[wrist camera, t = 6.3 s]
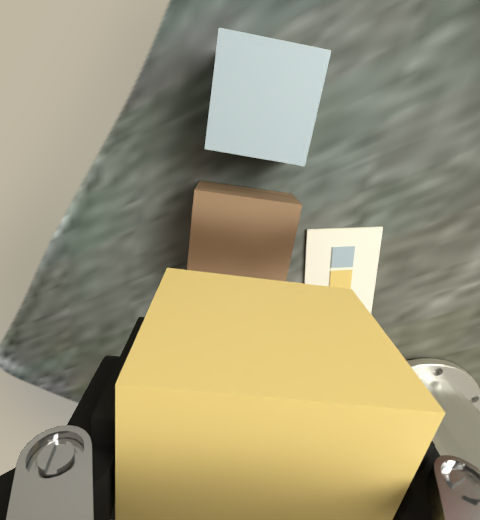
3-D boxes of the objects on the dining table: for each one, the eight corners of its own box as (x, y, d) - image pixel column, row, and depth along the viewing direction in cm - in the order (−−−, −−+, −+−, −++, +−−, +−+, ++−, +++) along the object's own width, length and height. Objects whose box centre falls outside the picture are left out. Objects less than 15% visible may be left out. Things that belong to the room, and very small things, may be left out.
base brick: (274, 276, 27) (281, 299, 24) (191, 266, 27) (184, 288, 23) (291, 193, 25) (302, 204, 21) (199, 180, 24) (194, 189, 21)
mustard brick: (351, 289, 11) (445, 413, 6) (311, 423, 13) (357, 590, 8) (166, 267, 10) (115, 384, 6) (157, 411, 12) (115, 580, 8)
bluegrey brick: (290, 159, 24) (304, 166, 19) (209, 145, 24) (204, 149, 19) (310, 67, 22) (331, 50, 17) (221, 49, 21) (218, 27, 17)
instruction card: (368, 323, 29) (369, 324, 29) (302, 325, 29) (302, 327, 29) (381, 226, 26) (383, 227, 26) (306, 229, 26) (307, 230, 26)
